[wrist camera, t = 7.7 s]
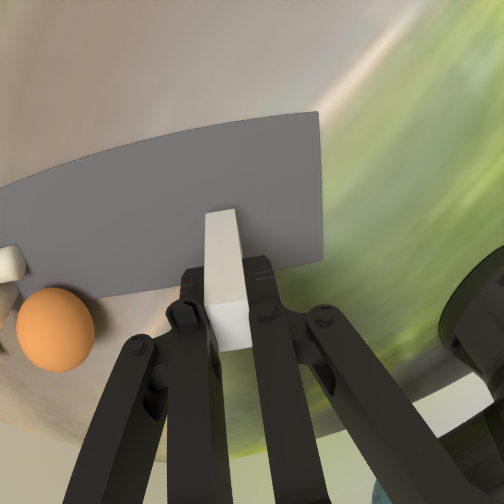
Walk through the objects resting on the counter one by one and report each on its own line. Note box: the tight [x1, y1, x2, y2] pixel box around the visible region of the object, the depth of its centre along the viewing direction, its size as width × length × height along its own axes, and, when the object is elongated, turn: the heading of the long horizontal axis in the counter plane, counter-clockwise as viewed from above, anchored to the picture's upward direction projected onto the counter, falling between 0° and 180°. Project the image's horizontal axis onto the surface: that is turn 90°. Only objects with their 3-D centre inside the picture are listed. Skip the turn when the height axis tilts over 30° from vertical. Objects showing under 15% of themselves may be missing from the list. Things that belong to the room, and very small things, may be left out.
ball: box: [16, 288, 94, 372], centre depth 19 cm, size 6×6×6 cm
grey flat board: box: [0, 111, 323, 311], centre depth 18 cm, size 27×10×1 cm, turn 97°
